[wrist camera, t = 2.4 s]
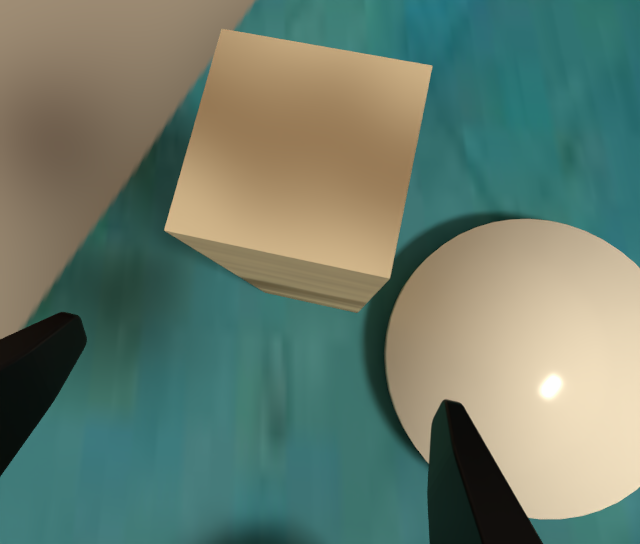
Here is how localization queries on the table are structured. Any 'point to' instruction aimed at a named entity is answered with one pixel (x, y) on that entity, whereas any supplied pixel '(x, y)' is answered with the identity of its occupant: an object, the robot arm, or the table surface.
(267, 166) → the birch block
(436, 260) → the saucer
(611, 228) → the table surface
